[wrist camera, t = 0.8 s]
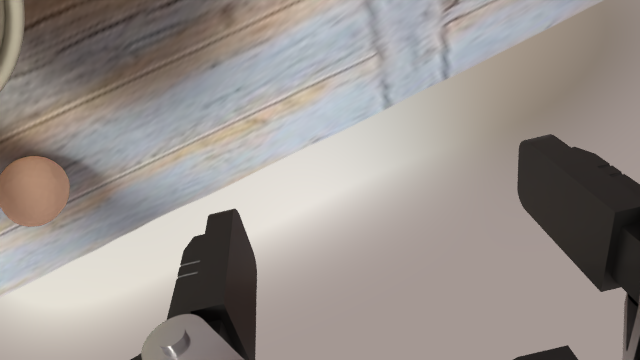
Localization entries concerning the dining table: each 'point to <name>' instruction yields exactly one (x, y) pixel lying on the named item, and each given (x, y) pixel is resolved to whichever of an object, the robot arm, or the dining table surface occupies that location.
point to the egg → (33, 190)
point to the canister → (10, 36)
